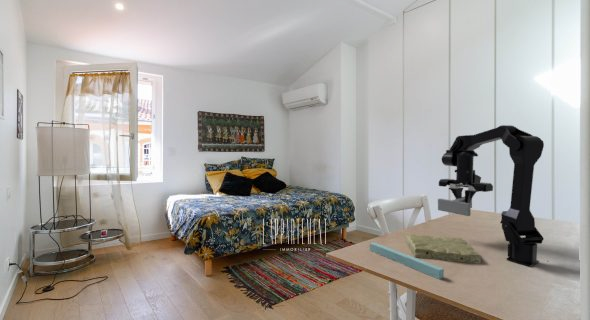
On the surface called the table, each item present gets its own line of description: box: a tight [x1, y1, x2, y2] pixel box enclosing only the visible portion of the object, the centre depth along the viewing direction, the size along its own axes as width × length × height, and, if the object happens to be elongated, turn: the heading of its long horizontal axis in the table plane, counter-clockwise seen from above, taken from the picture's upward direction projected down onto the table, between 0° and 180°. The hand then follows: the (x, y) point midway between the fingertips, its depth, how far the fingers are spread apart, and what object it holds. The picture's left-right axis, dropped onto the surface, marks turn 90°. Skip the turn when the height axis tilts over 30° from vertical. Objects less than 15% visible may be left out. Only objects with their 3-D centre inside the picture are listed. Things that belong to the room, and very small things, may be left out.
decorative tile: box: [405, 234, 482, 264], centre depth 103 cm, size 19×20×4 cm
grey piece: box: [437, 195, 473, 217], centre depth 117 cm, size 12×12×4 cm
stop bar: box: [369, 241, 445, 280], centre depth 93 cm, size 26×2×2 cm, turn 31°
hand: (463, 206), depth 118 cm, fingers closed on grey piece, 2 cm apart
